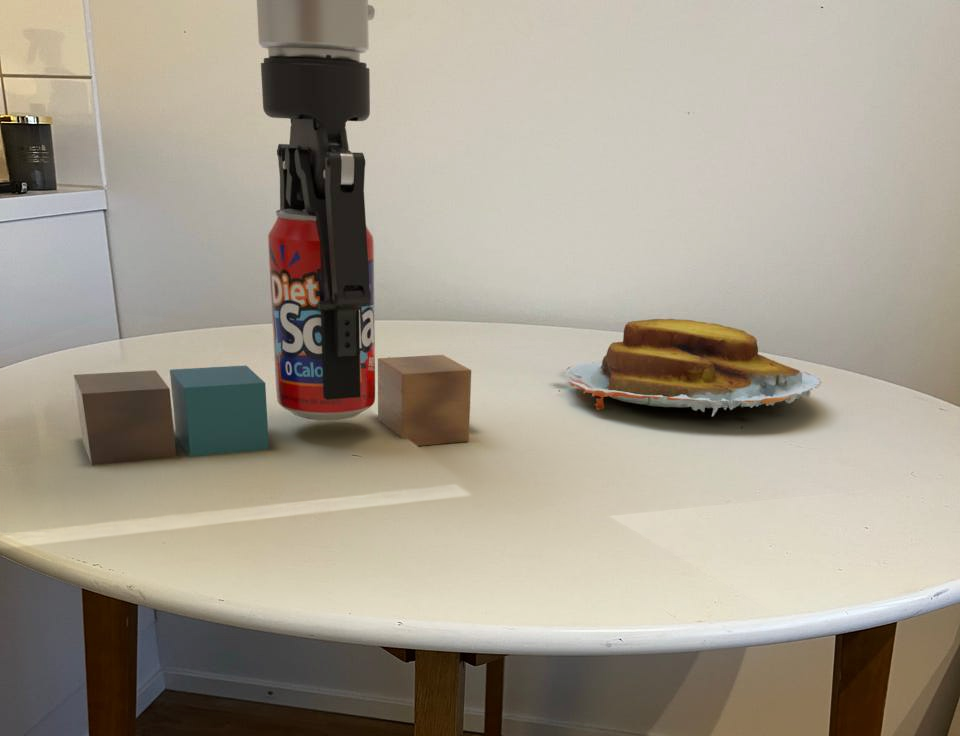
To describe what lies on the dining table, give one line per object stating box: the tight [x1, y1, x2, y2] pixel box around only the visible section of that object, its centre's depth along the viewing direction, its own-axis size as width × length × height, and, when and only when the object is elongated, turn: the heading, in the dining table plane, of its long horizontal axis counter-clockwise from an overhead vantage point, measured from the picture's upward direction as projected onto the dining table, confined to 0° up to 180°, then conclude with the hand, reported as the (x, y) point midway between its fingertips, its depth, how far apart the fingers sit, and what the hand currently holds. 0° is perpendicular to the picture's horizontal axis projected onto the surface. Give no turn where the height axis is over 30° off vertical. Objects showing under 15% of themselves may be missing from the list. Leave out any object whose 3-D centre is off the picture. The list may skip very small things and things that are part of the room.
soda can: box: [267, 209, 376, 421], centre depth 79 cm, size 8×8×15 cm
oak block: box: [377, 354, 472, 447], centre depth 85 cm, size 6×6×6 cm
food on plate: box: [557, 318, 822, 429], centre depth 100 cm, size 25×25×7 cm
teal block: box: [169, 364, 270, 457], centre depth 79 cm, size 6×6×6 cm
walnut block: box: [73, 369, 177, 466], centre depth 76 cm, size 6×6×6 cm
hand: (325, 384), depth 81 cm, fingers closed on soda can, 8 cm apart
